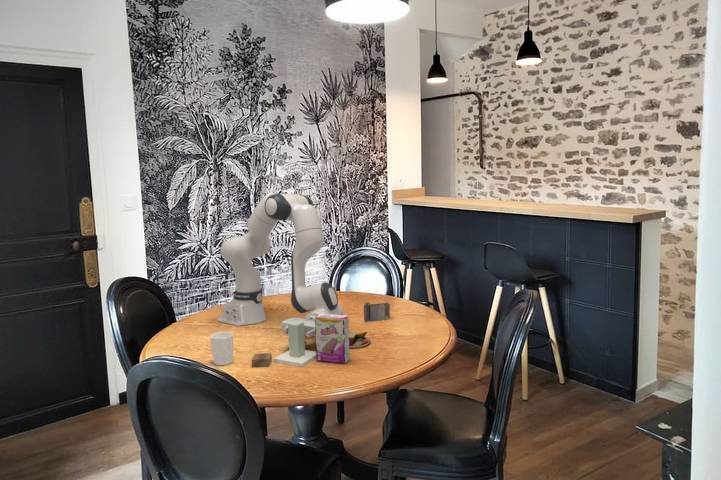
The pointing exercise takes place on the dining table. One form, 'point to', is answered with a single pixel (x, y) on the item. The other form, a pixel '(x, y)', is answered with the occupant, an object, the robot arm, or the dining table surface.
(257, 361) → the walnut block
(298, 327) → the sage block
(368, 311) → the dark grey piece
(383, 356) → the dining table surface
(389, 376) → the dining table surface
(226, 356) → the white cup
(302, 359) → the plate
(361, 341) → the toy sandwich meal
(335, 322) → the candy bar box
